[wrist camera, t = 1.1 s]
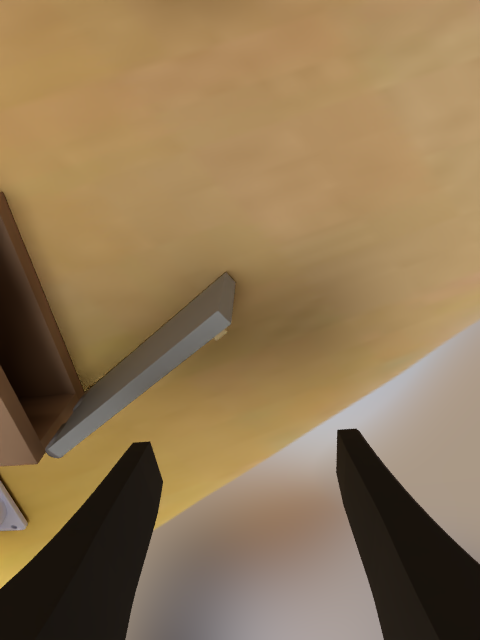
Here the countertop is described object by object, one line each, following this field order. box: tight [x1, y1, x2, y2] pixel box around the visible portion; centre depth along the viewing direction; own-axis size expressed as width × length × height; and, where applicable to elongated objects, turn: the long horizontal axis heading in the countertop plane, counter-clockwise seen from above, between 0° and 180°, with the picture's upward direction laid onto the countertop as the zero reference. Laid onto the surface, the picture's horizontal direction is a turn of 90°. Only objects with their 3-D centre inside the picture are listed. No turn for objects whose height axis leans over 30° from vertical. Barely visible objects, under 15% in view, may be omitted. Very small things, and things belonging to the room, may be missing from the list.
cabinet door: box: [45, 272, 236, 458], centre depth 18 cm, size 2×13×5 cm, turn 131°
